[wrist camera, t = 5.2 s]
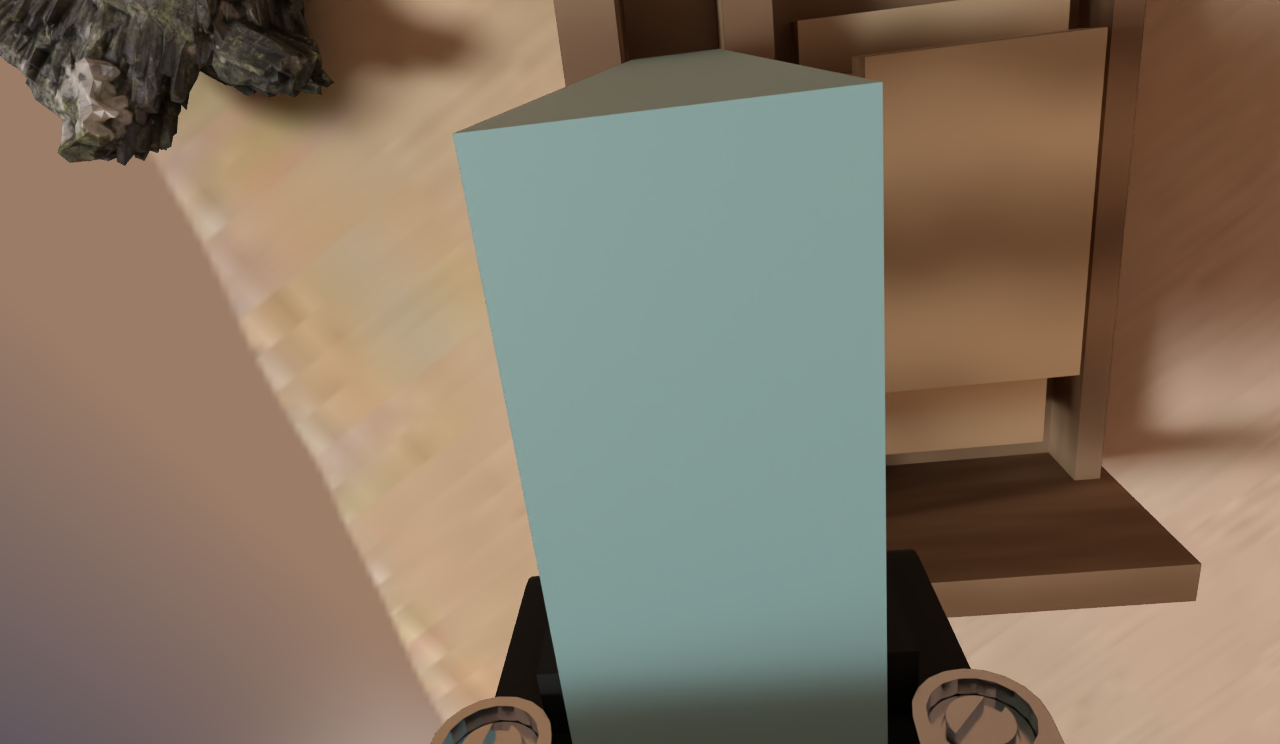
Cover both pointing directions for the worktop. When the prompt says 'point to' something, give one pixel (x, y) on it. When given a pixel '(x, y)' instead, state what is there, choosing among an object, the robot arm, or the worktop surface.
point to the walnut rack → (1075, 405)
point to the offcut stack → (977, 206)
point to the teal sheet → (697, 391)
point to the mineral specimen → (150, 63)
